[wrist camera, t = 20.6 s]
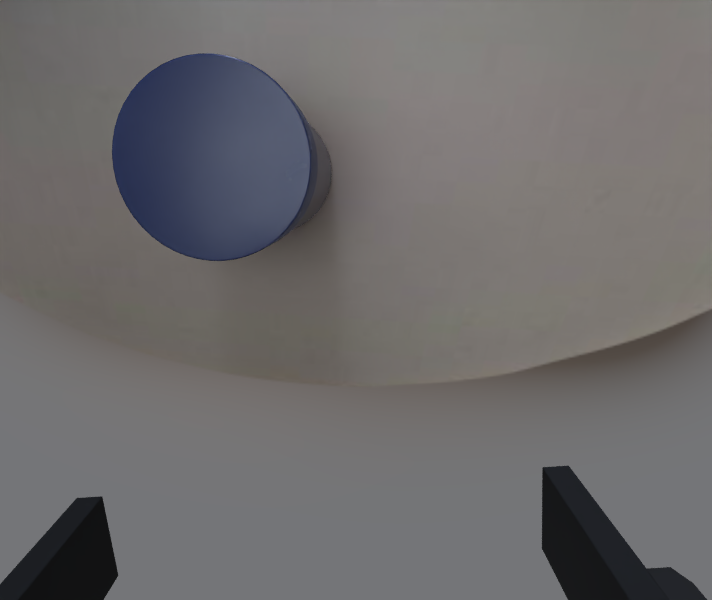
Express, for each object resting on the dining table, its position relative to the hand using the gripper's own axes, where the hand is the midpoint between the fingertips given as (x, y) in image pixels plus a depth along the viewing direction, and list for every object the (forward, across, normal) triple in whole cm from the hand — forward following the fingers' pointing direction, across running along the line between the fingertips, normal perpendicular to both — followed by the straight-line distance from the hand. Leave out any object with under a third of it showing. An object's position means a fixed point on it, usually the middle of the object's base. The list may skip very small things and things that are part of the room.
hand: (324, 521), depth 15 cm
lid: (+10, -5, +11) cm, 16 cm away
